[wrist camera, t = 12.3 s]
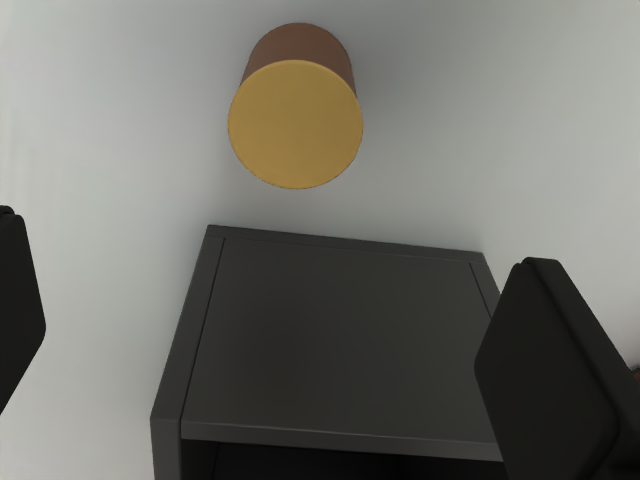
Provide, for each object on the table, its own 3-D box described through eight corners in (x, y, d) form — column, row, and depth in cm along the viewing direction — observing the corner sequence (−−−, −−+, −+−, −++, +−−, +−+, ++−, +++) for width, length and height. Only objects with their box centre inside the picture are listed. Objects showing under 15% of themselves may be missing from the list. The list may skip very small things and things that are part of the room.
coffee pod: (248, 13, 19) (229, 53, 15) (361, 29, 19) (374, 72, 15) (243, 121, 21) (225, 182, 17) (344, 134, 22) (351, 195, 18)
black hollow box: (207, 223, 24) (148, 418, 16) (483, 252, 25) (569, 449, 17) (205, 437, 33) (166, 636, 25) (408, 452, 34) (439, 647, 26)
